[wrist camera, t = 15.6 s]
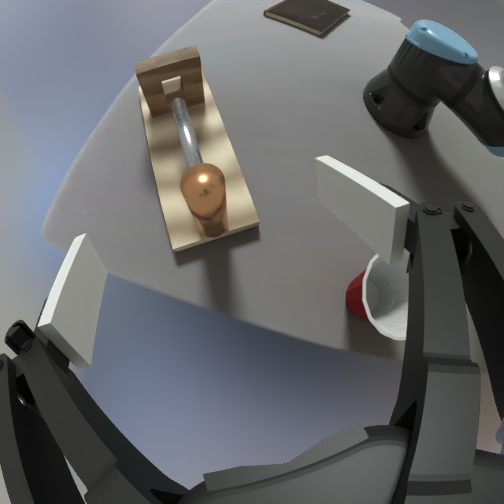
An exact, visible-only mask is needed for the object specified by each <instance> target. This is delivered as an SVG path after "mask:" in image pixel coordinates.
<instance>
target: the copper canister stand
mask: <svg viewBox="0 0 504 504" xmlns="http://www.w3.org/2000/svg"><path fill="white" fill-rule="evenodd" d="M135 69H136V76H137V78H138V81H139V84H140V86H139V92H140V99H141V106H142V112H143V118H144V124H145V129H146V135H147V140H148V146H149V151H150V156H151V161H152V166H153V170H154V175H155V179H156V184H157V188H158V193H159V197H160V201H161V205H162V209H163V214H164V218H165V221H166V225H167V229H168V233H169V237H170V241H171V244H172V248H173V250H174V251H175V252H178V251H181V250H184V249H187V248H190V247H193V246H196V245H200V244H203V243H206V242H209V241H212V240H215V239H218V238H221V237H224V236H227V235H231V234H234V233H237V232H240V231H243V230H246V229H250V228H253V227H256V226H259V222H260V221H259V218H258V215H257V213H256V210H255V207H254V204H253V202H252V199H251V196H250V194H249V191H248V188H247V185H246V183H245V180H244V177H243V175H242V172H241V169H240V167H239V164H238V161H237V159H236V156H235V153H234V151H233V148H232V146H231V143H230V140H229V138H228V135H227V132H226V130H225V127H224V125H223V122H222V120H221V117H220V114H219V112H218V109H217V107H216V104H215V102H214V99H213V96H212V94H211V91H210V89H209V86H208V84H207V81H206V79H205V76H204V74H203V71H202V69H201V61H200V55H199V52H198V50H197V48H196V46H192V47H188V48H184V49H180V50H176V51H173V52H169V53H166V54H162V55H159V56H156V57H152V58H149V59H146V60H143V61H140V62H138V63H135ZM176 98H182V99H184V101H185V104H186V107H187V111H188V114H189V117H190V121H191V124H192V127H193V130H194V134H195V137H196V140H197V143H198V147H199V150H200V153H201V156H202V159H203V163H209V164H213V165H215V166H216V167H218V168H219V169H220V170H221V171H222V173H223V175H224V177H225V187H226V201H227V215H228V226H227V229H226V231H225V232H224V233H223V234H222V235H220V236H218V237H215V238H209V237H206V236H204V235H202V234H201V233H200V231H199V230H198V228H197V225H196V223H195V221H194V219H193V217H192V215H191V212H190V210H189V208H188V206H187V203H186V201H185V199H184V197H183V194H182V192H181V189H180V181H181V177H182V175H183V174H184V172H185V171H186V170H187V169H188V168H187V164H186V161H185V157H184V154H183V150H182V146H181V143H180V139H179V135H178V131H177V128H176V124H175V120H174V116H173V112H172V108H171V102H172V100H174V99H176Z"/></svg>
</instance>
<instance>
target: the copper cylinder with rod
mask: <svg viewBox="0 0 504 504" xmlns="http://www.w3.org/2000/svg"><path fill="white" fill-rule="evenodd" d="M171 108H172V112H173V116H174V120H175V124H176V128H177V131H178V135H179V139H180V143H181V146H182V150H183V154H184V157H185V161H186V164H187V168H188V169H187V170H186V171H185V172H184V174H183V175H182V177H181V181H180V189H181V192H182V194H183V197H184V199H185V201H186V203H187V206H188V208H189V210H190V212H191V215H192V217H193V219H194V221H195V223H196V225H197V228H198V230H199V231H200V233H201V234H202V235H204V236H206V237H209V238H215V237H218V236H220V235H222V234H223V233H224V232H225V231H226V229H227V226H228V215H227V201H226V187H225V177H224V175H223V173H222V171H221V170H220V169H219V168H218V167H216V166H215V165H213V164H209V163H203V159H202V156H201V153H200V150H199V147H198V143H197V140H196V137H195V134H194V130H193V127H192V124H191V121H190V117H189V114H188V111H187V107H186V104H185V101H184V99H182V98H176V99H174V100H172V102H171Z"/></svg>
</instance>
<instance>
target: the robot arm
mask: <svg viewBox="0 0 504 504" xmlns="http://www.w3.org/2000/svg"><path fill="white" fill-rule="evenodd" d="M405 36H406V38H405V40H404V41H403V43H402V45H401V46H400V48H399V50H398V51H397V53H396V55H395V56H394V58H393V59H392V61H391V63H390V64H389V66H388V68H387V69H385V70H384V71H382V72H381V73H380V74H378V75H377V76H375V77H374V78H372V79H371V80H370V81H369V82H368V84H367V86H366V87H365V89H364V92H363V97H364V101H365V104H366V106H367V108H368V110H369V111H370V113H371V114H372V115H373V116H374V117H375V119H376V120H377V121H378V122H379V123H381V124H382V125H383V126H384V127H386V128H387V129H388V130H390V131H392V132H393V133H395V134H397V135H400V136H402V137H406V138H416V137H419V136H420V135H421V134H422V133H423V132H424V131H425V130H426V129H427V128H428V126H429V123H430V120H431V118H432V115H433V112H434V109H435V107H436V106H437V105H438V103H439V102H440V101H441V102H443V103H444V104H445V105H446V106H447V107H448V108H449V109H450V110H451V111H452V112H453V113H454V114H455V115H456V116H457V117H458V118H459V119H460V120H461V121H462V122H463V123H464V124H465V125H466V126H467V127H468V128H469V130H470V131H471V132H472V133H473V134H474V135H475V136H476V137H477V139H478V140H479V141H480V143H481V144H483V145H484V146H485V147H486V148H487V149H488V150H489V151H490V152H491V153H492V154H494V155H496V156H499V157H504V69H503V68H501V67H498V66H493V67H491V68H490V69H489V70H488V71H485V70H484V69H483V68H482V67H481V66H480V65H479V64H478V63H477V61H478V55H477V53H476V51H475V50H474V49H473V47H472V46H470V45H469V44H468V42H467V41H465V40H464V39H463V38H462V37H460V36H459V35H458V34H456V33H455V32H453V31H452V30H450V29H448V28H447V27H445V26H443V25H440V24H438V23H436V22H433V21H429V20H419V21H417V22H416V23H415V24H414V25H413V27H412V28H411V30H410V31H409V32H407V33H406V35H405ZM315 162H316V171H317V181H318V191H319V202H320V203H322V204H323V205H324V206H325V207H326V208H327V209H329V210H330V211H331V212H332V213H333V214H334V215H336V216H337V217H338V218H339V219H340V220H341V221H342V222H343V223H345V224H346V225H347V226H348V227H349V228H350V229H351V230H352V231H353V232H355V233H356V234H357V235H358V236H359V237H360V238H361V239H362V240H363V241H364V242H365V243H366V244H367V245H369V246H370V247H371V248H372V249H373V250H374V251H375V252H376V253H377V254H378V255H379V256H380V257H381V258H382V259H383V260H384V261H385V262H386V263H387V264H388V265H392V264H394V263H396V262H398V261H400V260H402V258H403V252H404V248H405V249H406V250H407V251H409V252H410V255H409V260H408V265H407V270H406V273H408V272H409V293H408V317H407V331H406V342H405V352H404V360H403V368H402V375H401V382H400V388H399V393H398V398H397V402H396V405H395V408H394V410H393V413H392V416H391V419H390V423H389V425H376V426H370V427H369V426H368V427H364V428H363V426H362V424H361V422H359V423H357V424H355V425H353V426H351V427H348V428H346V429H345V430H342V431H340V432H338V433H336V434H333V435H331V436H329V437H327V438H324V439H323V440H321V441H320V442H318V443H317V444H315V445H314V446H312V447H311V448H309V449H308V450H307V451H305V452H304V453H302V454H300V455H299V456H297V457H296V458H294V459H293V460H291V461H289V462H287V463H284V464H275V465H259V466H239V467H236V468H231V469H226V470H222V471H217V472H211V473H206V474H203V476H204V480H205V481H203V482H201V483H200V484H198V485H196V486H195V487H193V488H192V489H191V490H188V489H187V488H185V487H183V486H182V485H180V484H178V483H177V482H175V481H173V480H171V479H170V478H168V477H167V476H166V475H165V474H163V473H162V472H161V471H160V470H159V469H158V468H157V467H155V466H154V465H153V464H152V463H151V462H150V461H149V460H148V459H147V458H146V457H145V456H144V455H143V454H142V453H141V452H140V451H138V449H136V447H135V446H133V444H132V443H131V442H130V441H129V440H128V439H127V438H126V437H125V436H124V435H123V434H122V433H121V432H120V431H119V430H118V428H117V427H116V426H115V425H114V424H113V423H112V422H111V421H110V419H109V418H108V417H107V416H106V415H105V414H104V412H103V411H102V410H101V409H100V408H99V406H98V405H97V404H96V402H95V401H94V400H93V399H92V397H91V396H90V395H89V394H88V392H87V391H86V389H85V388H84V387H83V385H82V384H81V383H80V381H79V380H78V378H77V377H76V376H75V374H74V373H73V372H72V371H71V370H70V369H69V368H68V366H69V361H71V362H72V363H73V364H74V365H75V366H76V367H77V368H82V367H87V366H91V360H92V352H93V345H94V338H95V332H96V326H97V320H98V315H99V310H100V304H101V299H102V294H103V290H104V286H105V281H106V277H107V273H108V271H107V269H106V268H105V266H104V264H103V263H102V261H101V259H100V257H99V256H98V254H97V252H96V250H95V249H94V247H93V245H92V243H91V241H90V239H89V238H88V236H87V234H86V233H85V234H83V235H80V236H78V237H76V238H75V239H74V241H73V243H72V245H71V247H70V249H69V251H68V253H67V255H66V258H65V260H64V262H63V264H62V266H61V269H60V271H59V273H58V275H57V278H56V280H55V282H54V284H53V287H52V289H51V292H50V294H49V296H48V297H47V298H46V300H45V302H44V305H43V309H42V310H41V313H40V316H39V318H38V321H37V324H36V327H35V330H34V332H33V331H32V330H31V329H30V328H29V327H28V326H27V325H26V323H25V322H24V321H23V320H19V321H16V322H15V323H14V324H13V325H12V326H11V327H10V328H9V330H8V332H7V334H6V336H5V343H6V344H7V345H8V346H9V347H10V348H11V349H12V350H13V351H14V352H15V353H16V354H17V355H18V356H17V357H15V358H14V359H12V360H11V359H10V358H9V357H8V356H7V355H6V354H1V355H0V465H1V469H2V473H3V477H4V481H5V485H6V488H7V492H8V495H9V498H10V501H11V504H85V502H84V500H83V498H82V496H81V494H80V492H79V490H78V488H77V486H76V484H75V482H74V479H73V477H72V475H71V472H70V470H69V468H68V465H67V463H66V460H65V457H66V459H67V460H68V462H69V463H70V465H71V466H72V468H73V469H74V470H75V472H76V473H77V475H78V476H79V478H80V479H81V480H82V482H83V483H84V485H85V486H86V488H87V490H88V492H87V493H86V494H85V495H84V497H85V501H86V502H87V504H504V239H503V238H502V236H501V235H500V234H499V232H498V231H497V230H496V228H495V227H494V226H493V224H492V223H491V222H490V220H489V219H488V218H487V217H486V215H485V214H484V213H483V212H482V211H481V209H480V208H479V207H478V206H477V205H475V204H474V203H472V202H470V201H467V200H460V201H457V202H456V203H455V208H454V211H451V212H444V210H443V209H442V208H441V207H439V206H437V205H435V204H430V203H422V204H417V203H415V202H414V201H412V200H411V199H409V198H408V197H406V196H404V195H402V194H401V193H400V192H398V191H396V190H395V189H393V188H391V187H390V186H388V185H384V184H381V183H377V182H375V181H373V180H372V179H370V178H368V177H366V176H365V175H363V174H361V173H359V172H358V171H356V170H354V169H352V168H350V167H348V166H347V165H345V164H343V163H341V162H339V161H337V160H335V159H333V158H331V157H329V156H327V155H326V156H321V157H317V158H315ZM471 248H472V251H471ZM465 301H466V304H467V306H468V309H469V312H470V314H471V317H472V320H473V323H474V325H475V328H476V331H477V334H478V337H479V341H480V344H481V347H482V351H483V354H484V358H485V361H486V365H487V369H488V373H489V377H490V381H491V386H492V391H493V395H494V399H495V403H496V406H497V410H498V413H499V416H500V418H501V421H502V423H501V427H500V428H499V429H498V430H497V433H496V440H497V442H498V443H499V444H502V450H501V453H500V454H496V453H492V452H487V451H482V450H478V449H475V448H476V442H477V434H478V423H479V412H480V368H479V366H478V364H477V363H474V362H471V360H470V348H469V333H468V322H467V312H466V305H465ZM19 399H21V400H22V401H23V404H24V405H23V404H22V403H21V402H20V400H19ZM64 455H65V457H64Z"/></svg>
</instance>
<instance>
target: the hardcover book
mask: <svg viewBox="0 0 504 504" xmlns="http://www.w3.org/2000/svg"><path fill="white" fill-rule="evenodd" d="M349 11H350V10H349V9H347V8H345V7H343V6H340V5H338V4H336V3H333V2H331V1H328V0H284V1H282V2H280V3H279V4H277V5H275V6H273V7H271V8H269V9H267V10H265V11H264V15H266V16H269V17H273V18H276V19H278V20H281V21H284V22H287V23H290V24H292V25H295V26H297V27H300V28H303V29H305V30H307V31H310V32H312V33H315V34H317V35H319V36H320V35H321V34H322V33H323V32H324V31H326V30H327V29H328V28H329V27H331V26H332V25H333V24H334V23H336V22H337V21H338V20H340V19H341V18H342V17H343V16H345V15H346V14H347V13H348V12H349Z"/></svg>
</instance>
